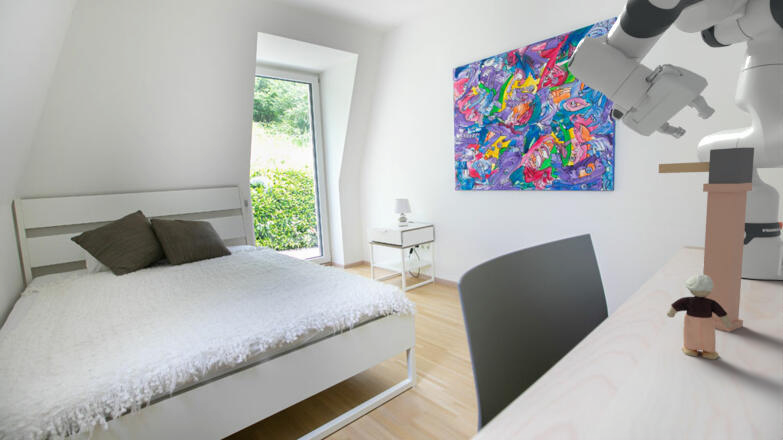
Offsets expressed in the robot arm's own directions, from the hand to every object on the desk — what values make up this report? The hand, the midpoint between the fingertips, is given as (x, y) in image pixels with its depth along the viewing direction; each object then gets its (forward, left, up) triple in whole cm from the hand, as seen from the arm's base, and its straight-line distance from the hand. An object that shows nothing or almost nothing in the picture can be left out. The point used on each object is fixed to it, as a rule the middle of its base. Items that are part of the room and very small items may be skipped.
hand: (695, 125), depth 78 cm
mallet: (+10, +6, -12) cm, 16 cm away
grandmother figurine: (+26, +13, -38) cm, 48 cm away
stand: (+10, +10, -38) cm, 40 cm away
